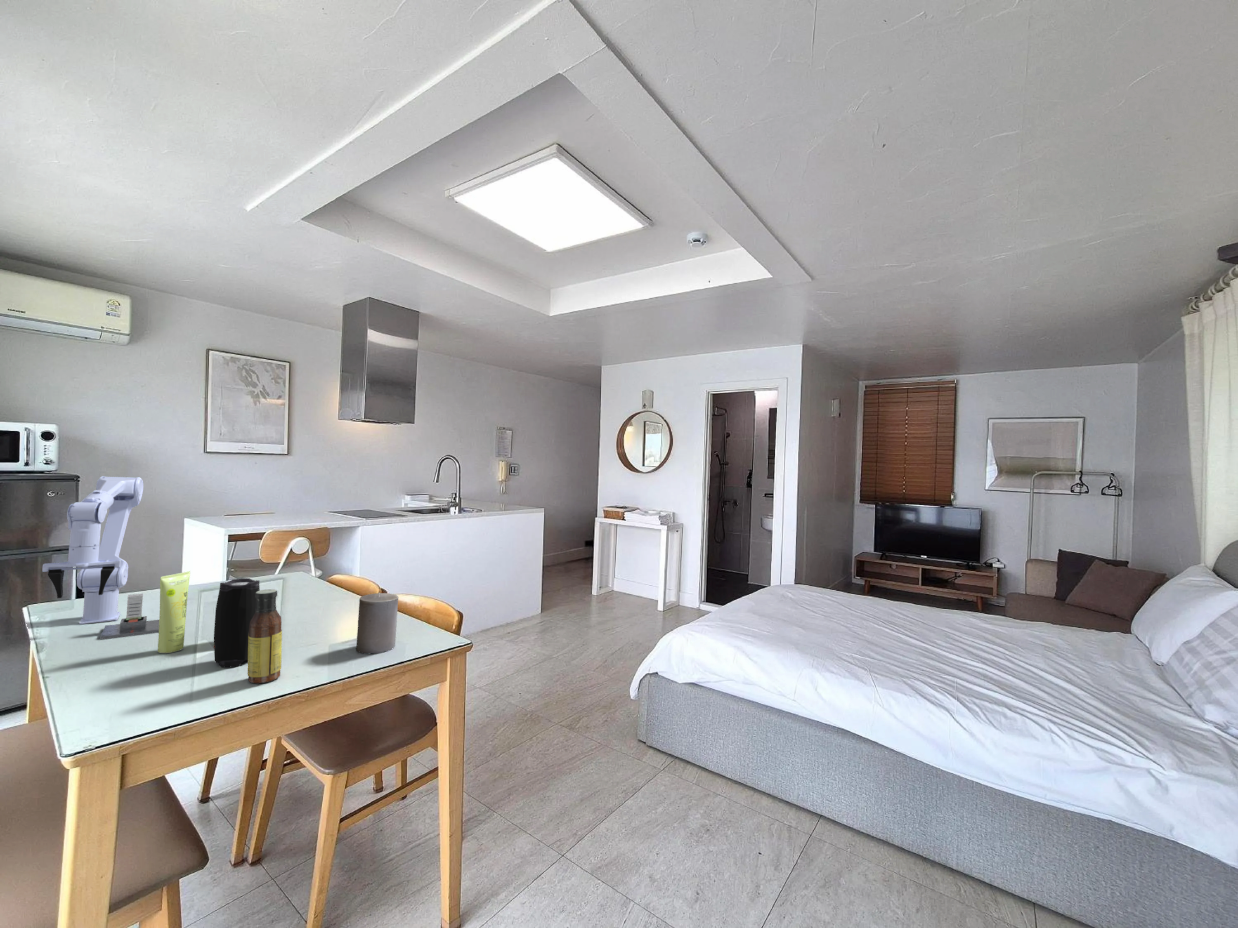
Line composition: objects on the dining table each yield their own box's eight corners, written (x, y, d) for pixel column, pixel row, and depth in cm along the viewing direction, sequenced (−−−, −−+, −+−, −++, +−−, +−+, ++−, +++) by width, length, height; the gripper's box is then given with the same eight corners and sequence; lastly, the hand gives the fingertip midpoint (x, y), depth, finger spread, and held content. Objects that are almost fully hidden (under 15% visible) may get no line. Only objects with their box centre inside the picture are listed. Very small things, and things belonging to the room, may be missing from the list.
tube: (181, 652, 127) (186, 574, 128) (154, 655, 124) (160, 576, 125) (185, 645, 132) (190, 570, 132) (159, 648, 129) (164, 572, 130)
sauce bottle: (275, 671, 118) (280, 586, 118) (284, 679, 114) (290, 590, 114) (241, 679, 112) (247, 590, 113) (250, 687, 108) (256, 594, 109)
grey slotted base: (105, 628, 143) (106, 615, 143) (162, 621, 151) (163, 610, 151) (100, 639, 134) (101, 626, 134) (161, 631, 142) (162, 619, 142)
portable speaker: (209, 671, 116) (214, 586, 117) (215, 658, 124) (220, 578, 125) (255, 665, 121) (259, 583, 121) (258, 653, 129) (263, 576, 129)
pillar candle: (347, 649, 134) (351, 592, 134) (380, 639, 143) (383, 586, 143) (371, 656, 130) (375, 598, 130) (403, 646, 138) (407, 591, 139)
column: (126, 617, 143) (128, 594, 143) (141, 616, 145) (143, 593, 145) (125, 620, 140) (127, 597, 140) (141, 618, 142) (142, 595, 142)
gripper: (41, 549, 130) (37, 602, 130) (120, 546, 140) (116, 595, 139) (47, 545, 136) (43, 596, 135) (122, 543, 145) (118, 590, 145)
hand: (80, 595), depth 138 cm, fingers open, 7 cm apart
